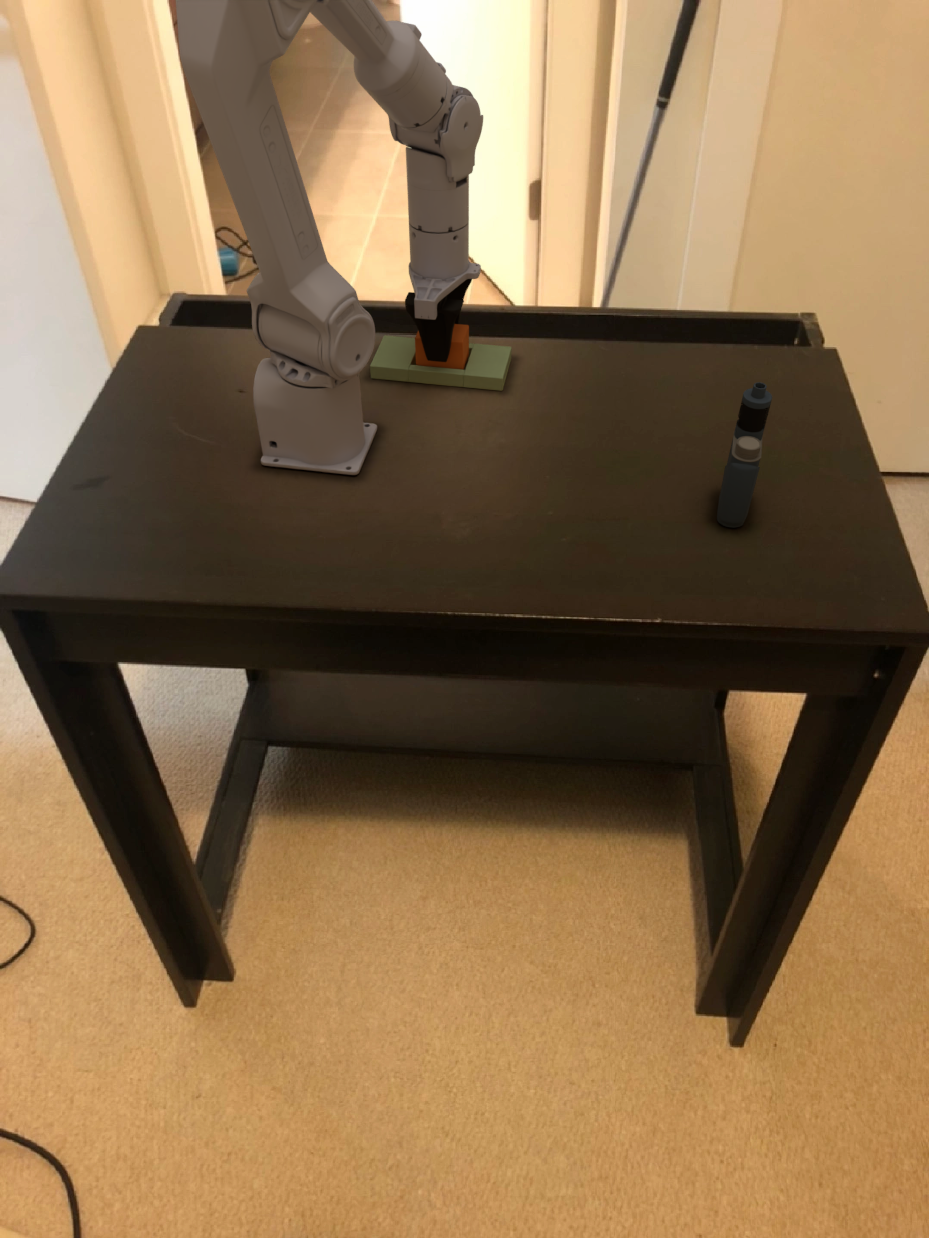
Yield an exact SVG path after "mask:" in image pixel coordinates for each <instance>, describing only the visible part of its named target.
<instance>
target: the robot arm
mask: <svg viewBox="0 0 929 1238" xmlns="http://www.w3.org/2000/svg"><path fill="white" fill-rule="evenodd" d="M175 10H176V11H175V12H176V23H177V24H176V25H177V39H178V49H179V50H178V51H179V57H180V58H179V60H180V62H181V67H182V69H183V73H184V76H185V79H186V81H187V84H188V86H189V90H190V91H191V94H192V98H193V99H194V102H195V105H196V107H197V110H198V113H199V115H200V117H201V121H202V123H203V126H204V128H205V131H206V134H207V137H208V139H209V142H210V144H211V147H212V150H213V153H214V154H215V155H214V156H215V157H216V160H217V162H218V165H219V168H220V171H221V173H222V177H223V178H224V181H225V184H226V187H227V189H228V192H229V194H230V197H231V199H232V202H233V204H234V207H235V210H236V212H237V213H236V214H237V216H238V218H239V221H240V223H241V226H242V228H243V231H244V234H245V236H246V239H247V242H248V244H249V247H250V249H251V252H252V255H253V258H254V260H255V263H256V265H257V268H258V271H259V272H258V273H256V274H255V276H254V277H253V279H252V280H251V282H250V284H249V285H248V287H247V289H246V294H247V296H248V299H249V303H250V304H251V305H250V306H251V325H252V326H251V328H252V334H253V336H254V338H255V340H256V342H257V343H258V345H259V346H261V347H262V348H263V349H265V350H267V351H269V355H270V357H264V358H262V359H261V360H260V362H258V363H259V364H258V365H257V368H256V371H255V373H254V379H253V389H252V390H253V391H252V397H253V398H252V399H253V407H254V414H255V420H256V425H257V429H258V435H259V442H260V448H261V452H262V456H261V458H260V464H261V465H262V466H264V467H265V466H266V467H275V468H283V469H292V470H304V471H311V472H320V473H321V472H322V473H330V474H339V475H348V476H356V475H358V474H360V471H361V469H362V467H363V465H364V462H365V459H366V458H367V456H368V453H369V450H370V448H371V445H372V443H373V442H374V441H373V440H374V438H375V436H376V433H377V430H378V425H377V424H376V423H372V422H364V413H363V403H362V401H363V400H362V390H361V382H360V381H361V380H360V373H361V372H362V371H363V370H364V369H365V368H366V367H367V365H368V363H369V362H370V359H371V357H372V355H373V353H374V349H375V345H376V327H375V326H376V325H375V322H374V319H373V317H372V315H371V313H370V312H369V311H367V310H366V308H364V307H363V306H362V304H361V302H360V300H359V296H358V293H357V290H356V289H355V288H354V287H353V286H352V285H351V284H350V283H349V281H348V280H347V279H345V277H344V276H343V275H342V274H341V273H340V272H339V271H337V269H336V268H334V266H333V265H331V263H330V262H329V261H328V258H327V255H326V252H325V248H324V245H323V242H322V239H321V236H320V232H319V229H318V226H317V223H316V220H315V216H314V213H313V210H312V209H313V208H312V206H311V204H310V203H311V202H310V200H309V197H308V193H307V190H306V187H305V184H304V181H303V176H302V173H301V171H300V168H299V165H298V160H297V158H296V155H295V151H294V148H293V144H292V142H291V138H290V135H289V131H288V129H287V125H286V121H285V118H284V116H283V112H282V109H281V106H280V102H279V100H278V96H277V94H276V93H277V92H276V90H275V86H274V83H273V80H272V76H271V73H270V70H271V66H272V64H273V62H274V61H275V60H277V59H279V58H281V57H283V56H284V55H285V54H286V52H287V51H288V49H289V47H290V46H291V44H292V43H293V41H294V40H295V38H296V36H297V34H298V32H299V31H300V29H301V28H302V26H303V24H304V23H305V21H306V20H307V18H308V16H309V15H310V14H311V15H312V16H313V17H314V18H315V19H316V20H317V21H318V22H319V23H320V24H321V25H322V26H323V27H324V28H325V29H326V30H327V31H328V32H329V33H330V34H331V35H332V36H334V38H335V39H336V40H338V41H339V42H340V43H341V44H342V45H343V47H345V48H346V50H348V51H349V53H351V54H352V55H353V63H352V64H353V73H354V77H355V79H356V81H357V82H358V84H359V85H360V86H361V87H362V88H363V89H364V91H365V92H366V93H367V94H368V95H369V96H370V97H371V98H372V99H373V100H374V101H375V103H376V104H377V105H378V106H379V107H380V109H382V110H383V112H385V114H386V115H387V117H388V126H389V132H390V134H391V138H392V139H393V141H395V142H398V143H399V144H401V145H403V146H405V164H406V165H405V169H406V188H407V211H408V212H407V213H408V239H409V260H410V261H409V263H408V275H409V279H410V283H411V286H412V289H413V291H412V292H411V291H409V292H408V293H407V294H406V297H405V298H404V306H405V310H406V312H407V314H408V315H409V316H410V317H411V319H412V321H413V323H414V324H415V326H416V328H417V332H418V331H419V334H420V337H421V341H422V344H423V348H424V351H425V355H426V357H427V360H428V361H438V362H447V359H448V356H449V353H450V348H451V341H452V334H453V328H454V324H460V318H461V313H462V308H463V306H464V303H465V300H464V299H465V297H466V293H467V291H468V289H469V287H470V285H471V283H472V281H473V280H477V279H478V278H480V275H481V273H482V272H481V271H482V266H481V264H480V263H477V262H472V261H470V255H469V254H470V245H469V244H470V243H469V241H470V208H469V207H470V175H471V174H472V173H473V172H474V166H476V150H477V146H478V144H479V141H480V138H481V134H482V132H483V125H484V114H481V109H480V108H481V107H480V104H479V102H478V100H477V99H476V98H475V97H474V95H473V93H472V92H471V91H470V90H469V88H466V87H463V86H460V85H459V86H458V85H455V84H453V82H452V81H451V80H450V78H449V77H448V76H447V74H446V73H447V69H446V67H445V66H444V65H443V64H442V63H441V62H437V61H436V60H435V58H434V57H433V56H432V54H431V53H430V52H429V50H428V49H427V48H426V46H425V45H424V44H423V42H422V41H421V37H422V32H421V31H420V29H419V28H418V26H417V25H416V24H413V23H409V22H404V21H400V20H393V19H392V20H386V19H385V17H384V16H383V14H382V13H381V11H380V10H379V8H378V7H377V5H376V4H375V2H374V1H373V0H175Z"/></svg>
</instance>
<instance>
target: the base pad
mask: <svg viewBox="0 0 929 1238" xmlns="http://www.w3.org/2000/svg"><path fill="white" fill-rule="evenodd" d="M512 349H513V347H512V346H508V345H507V346H506V345H497V344H495V345H494V344H484V343H472V342H469V356H468V359H467V362H466V365H465V368H464V370H461V369H451V368H440V367H429V366H419V365H416V352H415V337H405V336H398V335H397V336H395V335H385V334H384V335H383V337H382V339H381V341H380V343H379V345H378V347H377V350H376V352H375V354H374V356H373V358H372V361H371V362H370V364H369V372H370V373H369V374H370V379H373V380H375V379H376V380H386V381H395V382H404V383H405V382H407V383H415V384H427V385H438V386H445V387H446V386H448V387H458V388H470V389H479V390H490V391H499V392H502V391H504V387H505V383H506V380H507V376H508V372H509V369H510V365H511V361H512V352H513V351H512Z"/></svg>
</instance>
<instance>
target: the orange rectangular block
mask: <svg viewBox="0 0 929 1238" xmlns="http://www.w3.org/2000/svg"><path fill="white" fill-rule="evenodd" d="M414 338H415V352H416V365H419V366H429V367H440V368H451V369H461V370H465V368H466V365H467V363H468V360H467V359H468V356H469V343H470V325H469V324H461V323H459V324H454V328H453V334H452V341H451V348H450V353H449V356H448V359H447V362H438V361H428V360H427V357H426V355H425V351H424V348H423V344H422V341H421V337H420V334H419V331H418V330H417V332H416V334H415V337H414Z"/></svg>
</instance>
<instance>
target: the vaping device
mask: <svg viewBox="0 0 929 1238" xmlns="http://www.w3.org/2000/svg"><path fill="white" fill-rule="evenodd" d="M767 388H768V385H767V384H766V383H764V382H761V381H758V382H757V381H756V382H755V383H753V385H752V387H751V388H747V389H746V390H744V391H743V393H742V397H741V402H740V406H739V410H738V414H737V420H736V423H735V427H734V430H733V434H732V435H733V436H732V440H731V445H730V449H729V453H728V458H727V462H726V465H725V466H724V470H723V476H722V482H721V487H720V488H721V489H720V492H719V497H718V504H717V514H716V521H717V522H718V523H719V524H720V525H721V526H724V527H726V528H730V529H731V528H732V529H733V528H739V527H742V526H744V524H745V522H746V520H747V517H748V514H749V510H750V507H751V502H752V500H753V495H754V492H755V488H756V484H757V480H758V477H759V471H760V466H759V465H760V463H761V459H762V454H763V453H762V451H763V436H764V432H765V428H766V424H767V420H768V416H769V412H770V408H771V404H772V401H773V395H772V393H770V391H768V390H767Z"/></svg>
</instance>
